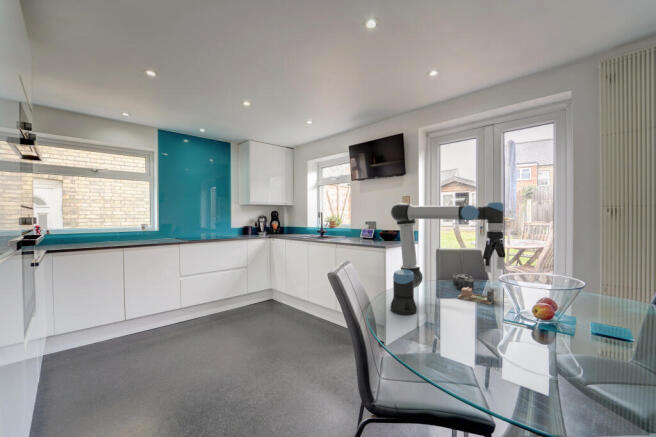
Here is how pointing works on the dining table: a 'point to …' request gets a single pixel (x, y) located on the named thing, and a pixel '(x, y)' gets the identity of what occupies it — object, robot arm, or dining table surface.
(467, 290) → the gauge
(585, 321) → the dining table surface
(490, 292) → the scale board
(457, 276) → the camera
